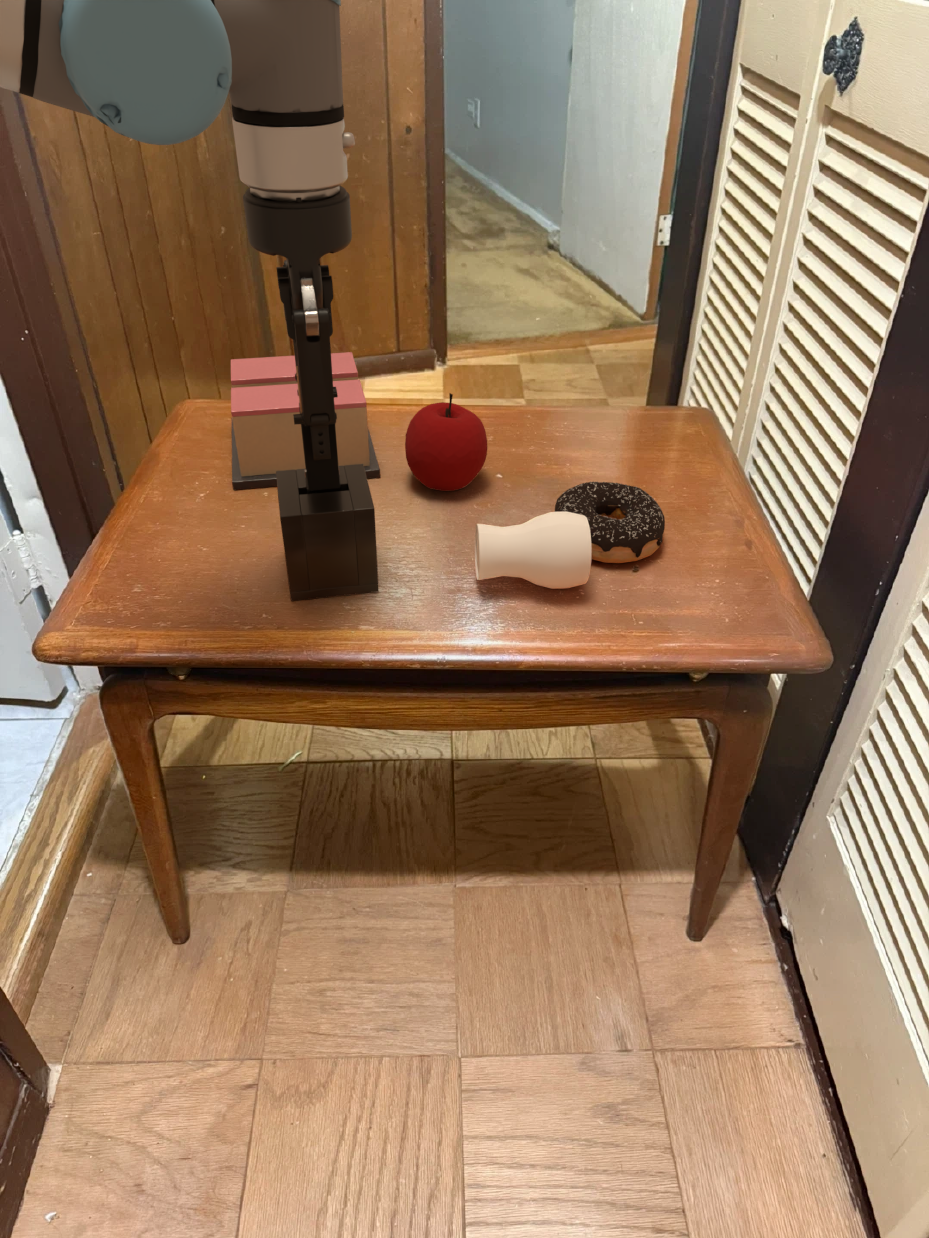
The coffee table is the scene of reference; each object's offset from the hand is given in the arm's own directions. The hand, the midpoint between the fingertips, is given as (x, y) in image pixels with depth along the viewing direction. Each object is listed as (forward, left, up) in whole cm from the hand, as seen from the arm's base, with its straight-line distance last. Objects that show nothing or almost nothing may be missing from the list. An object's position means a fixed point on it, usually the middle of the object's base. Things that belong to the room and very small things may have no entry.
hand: (322, 479), depth 76 cm
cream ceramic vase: (+18, -5, -10) cm, 21 cm away
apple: (+14, +15, -10) cm, 23 cm away
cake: (-1, +25, -10) cm, 27 cm away
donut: (+28, +1, -10) cm, 30 cm away
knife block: (0, 0, -10) cm, 10 cm away
